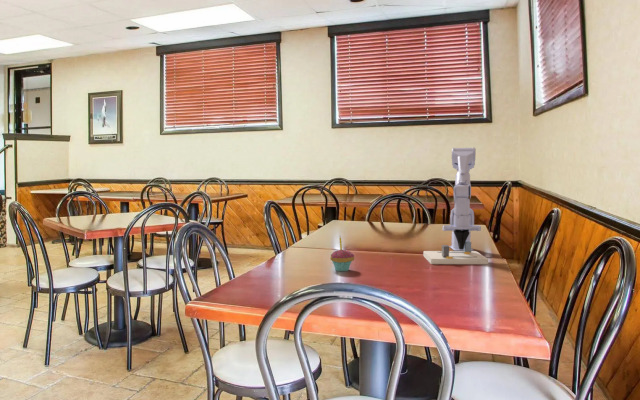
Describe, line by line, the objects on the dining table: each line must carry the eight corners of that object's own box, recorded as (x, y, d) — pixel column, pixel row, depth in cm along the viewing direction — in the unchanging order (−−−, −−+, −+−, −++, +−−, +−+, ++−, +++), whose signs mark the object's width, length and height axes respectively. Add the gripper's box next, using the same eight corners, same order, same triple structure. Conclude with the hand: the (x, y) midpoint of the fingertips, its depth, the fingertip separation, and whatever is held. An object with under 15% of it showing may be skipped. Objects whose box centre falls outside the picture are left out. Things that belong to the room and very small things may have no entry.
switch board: (423, 255, 186) (423, 249, 186) (475, 256, 185) (476, 249, 185) (431, 264, 171) (431, 257, 171) (488, 264, 170) (488, 257, 170)
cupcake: (326, 268, 165) (326, 235, 164) (347, 266, 168) (347, 233, 167) (336, 273, 157) (336, 238, 156) (358, 271, 160) (358, 237, 159)
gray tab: (441, 255, 176) (441, 244, 175) (446, 255, 176) (447, 244, 175) (443, 256, 173) (443, 246, 172) (448, 256, 173) (449, 246, 172)
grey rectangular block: (463, 250, 184) (464, 240, 184) (468, 250, 184) (469, 240, 184) (465, 252, 181) (466, 242, 181) (471, 252, 181) (471, 242, 181)
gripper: (445, 215, 178) (445, 250, 179) (483, 215, 177) (482, 250, 179) (441, 213, 185) (440, 247, 186) (478, 213, 184) (477, 247, 186)
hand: (461, 248), depth 183 cm, fingers closed
